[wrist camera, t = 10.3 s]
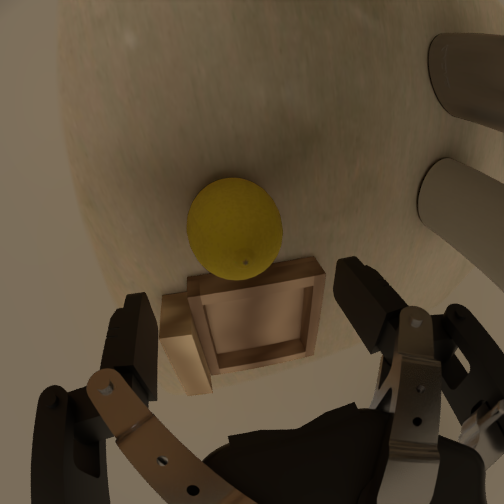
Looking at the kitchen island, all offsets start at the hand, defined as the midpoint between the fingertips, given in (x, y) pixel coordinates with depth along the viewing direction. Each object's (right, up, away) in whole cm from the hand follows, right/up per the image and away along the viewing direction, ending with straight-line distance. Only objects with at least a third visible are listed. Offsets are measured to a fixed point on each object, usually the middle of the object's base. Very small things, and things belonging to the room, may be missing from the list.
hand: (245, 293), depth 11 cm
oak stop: (-6, -6, +14) cm, 16 cm away
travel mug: (+20, +8, +12) cm, 25 cm away
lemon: (-2, +5, +9) cm, 10 cm away
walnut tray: (0, -4, +15) cm, 16 cm away
